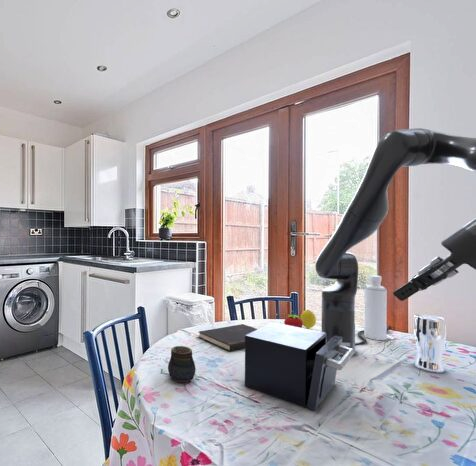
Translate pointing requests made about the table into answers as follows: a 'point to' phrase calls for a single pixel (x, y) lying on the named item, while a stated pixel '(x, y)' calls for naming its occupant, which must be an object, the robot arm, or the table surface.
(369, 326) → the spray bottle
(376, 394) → the table surface
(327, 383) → the oven door
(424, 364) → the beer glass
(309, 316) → the lemon
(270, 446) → the table surface
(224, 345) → the hardcover book
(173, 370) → the mate gourd
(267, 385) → the oven
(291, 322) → the strawberry
